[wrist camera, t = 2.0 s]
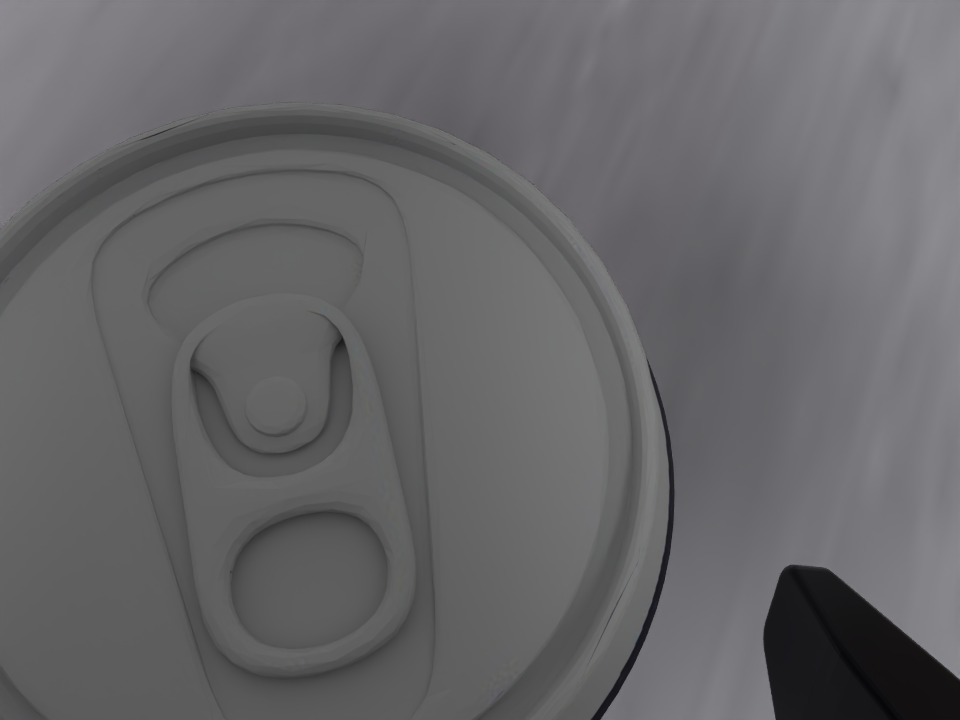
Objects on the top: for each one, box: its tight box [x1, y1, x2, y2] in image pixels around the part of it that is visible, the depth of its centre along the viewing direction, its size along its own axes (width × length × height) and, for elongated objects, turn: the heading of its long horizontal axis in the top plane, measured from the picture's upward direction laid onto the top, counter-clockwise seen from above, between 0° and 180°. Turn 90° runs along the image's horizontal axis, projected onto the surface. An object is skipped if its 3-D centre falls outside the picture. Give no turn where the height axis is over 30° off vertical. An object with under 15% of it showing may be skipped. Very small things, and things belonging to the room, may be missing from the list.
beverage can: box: [0, 102, 674, 720], centre depth 11 cm, size 6×6×12 cm
